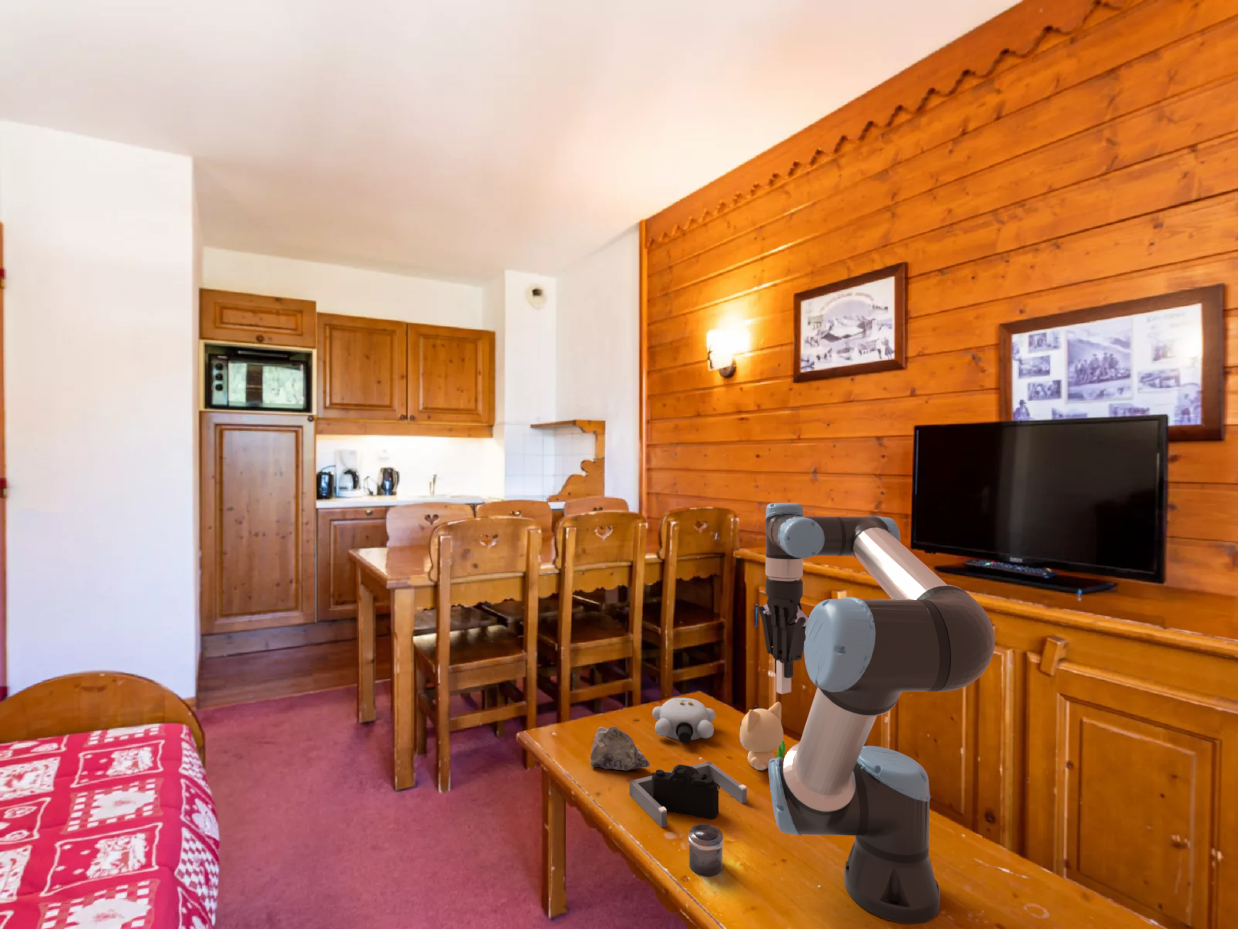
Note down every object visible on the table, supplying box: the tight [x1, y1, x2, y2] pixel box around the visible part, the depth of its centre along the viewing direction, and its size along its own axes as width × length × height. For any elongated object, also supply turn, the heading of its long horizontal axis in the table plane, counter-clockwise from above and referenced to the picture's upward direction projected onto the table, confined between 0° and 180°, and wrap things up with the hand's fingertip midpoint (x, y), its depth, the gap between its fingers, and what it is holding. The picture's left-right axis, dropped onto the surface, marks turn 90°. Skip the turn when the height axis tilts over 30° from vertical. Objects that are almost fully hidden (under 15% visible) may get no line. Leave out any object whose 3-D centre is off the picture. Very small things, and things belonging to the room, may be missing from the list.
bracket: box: [628, 761, 748, 828], centre depth 138 cm, size 14×21×3 cm, turn 117°
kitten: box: [738, 701, 786, 771], centre depth 154 cm, size 15×10×15 cm
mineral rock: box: [589, 725, 651, 772], centre depth 151 cm, size 13×11×10 cm
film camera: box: [650, 764, 721, 820], centre depth 136 cm, size 15×10×9 cm, turn 70°
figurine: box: [651, 697, 716, 745], centre depth 172 cm, size 17×8×20 cm
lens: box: [687, 823, 725, 878], centre depth 115 cm, size 6×6×6 cm
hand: (783, 691), depth 130 cm, fingers closed
